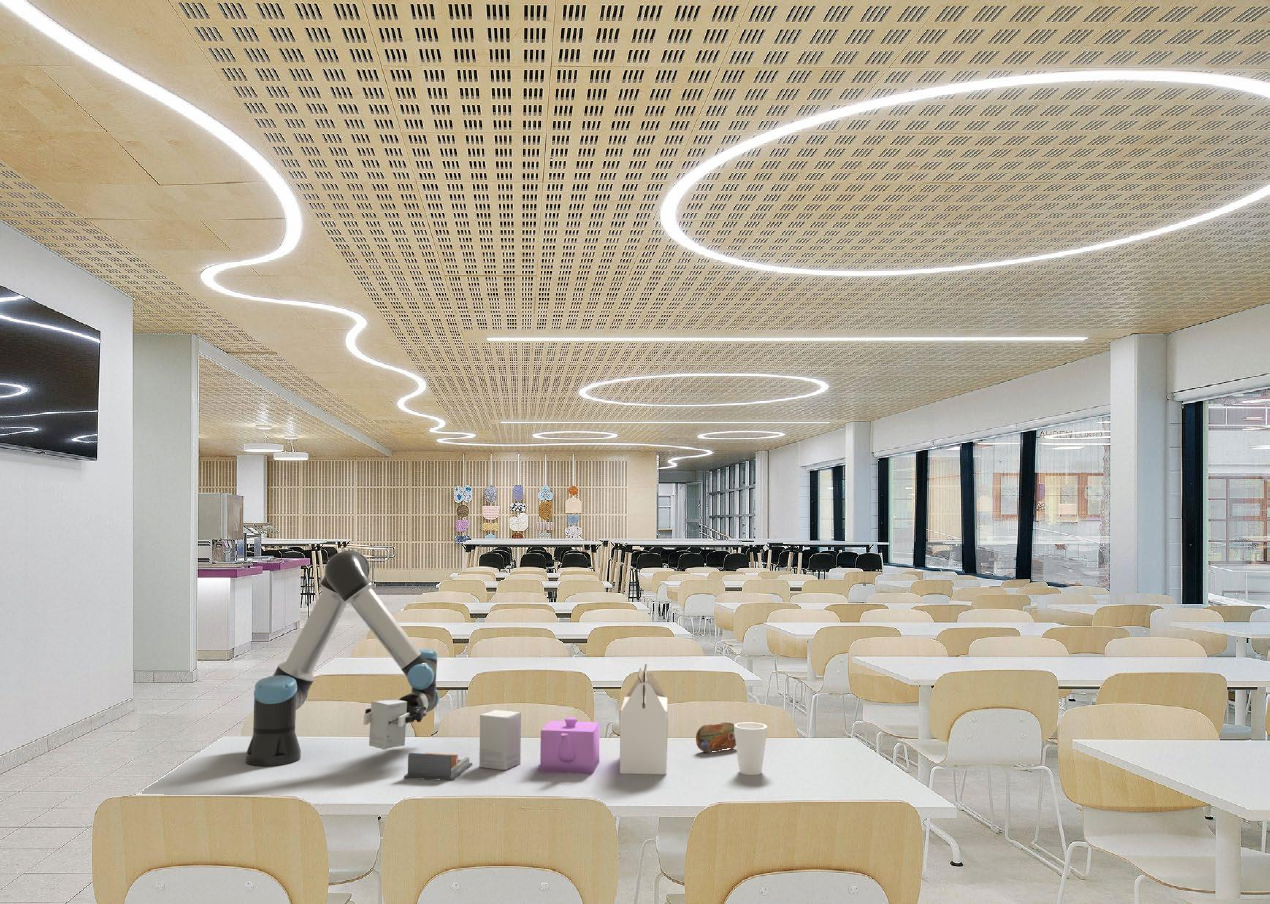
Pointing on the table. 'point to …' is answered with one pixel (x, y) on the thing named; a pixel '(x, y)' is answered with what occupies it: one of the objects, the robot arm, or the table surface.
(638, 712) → the gable box
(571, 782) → the table surface
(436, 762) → the pusher lane
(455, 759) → the spring pusher
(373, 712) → the supplement box
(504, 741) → the supplement box
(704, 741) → the tin
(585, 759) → the teapot
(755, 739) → the foam cup
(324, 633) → the robot arm
